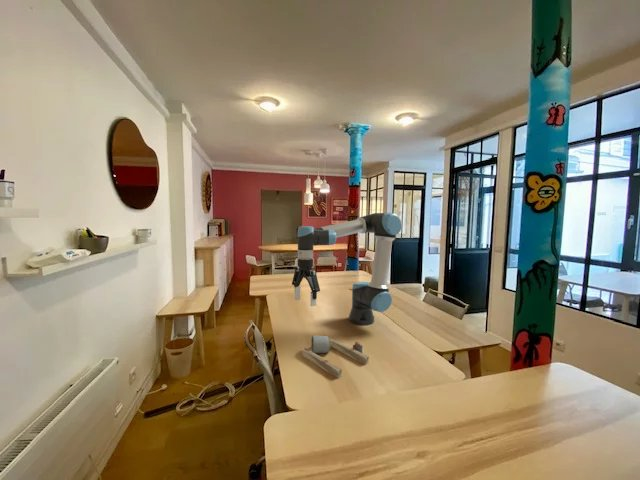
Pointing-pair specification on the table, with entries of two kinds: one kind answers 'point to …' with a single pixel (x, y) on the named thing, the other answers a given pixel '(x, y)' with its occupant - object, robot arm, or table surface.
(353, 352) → the beam channel
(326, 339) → the ceramic mug
